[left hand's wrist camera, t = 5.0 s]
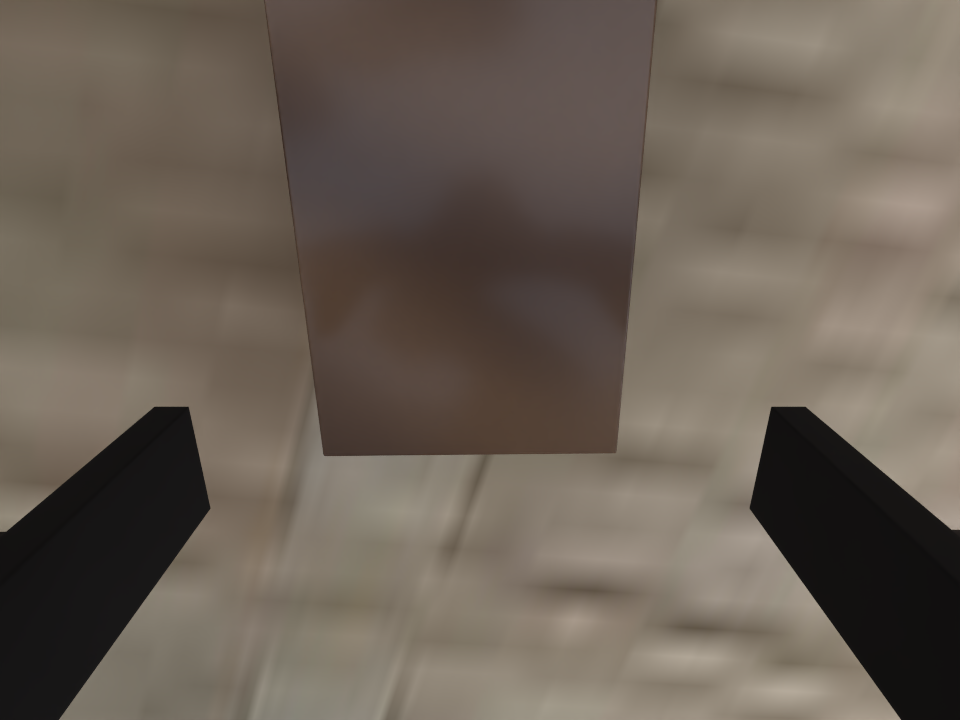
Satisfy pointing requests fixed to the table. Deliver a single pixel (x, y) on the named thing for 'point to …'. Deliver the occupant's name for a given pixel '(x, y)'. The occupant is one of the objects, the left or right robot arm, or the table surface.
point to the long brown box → (464, 216)
